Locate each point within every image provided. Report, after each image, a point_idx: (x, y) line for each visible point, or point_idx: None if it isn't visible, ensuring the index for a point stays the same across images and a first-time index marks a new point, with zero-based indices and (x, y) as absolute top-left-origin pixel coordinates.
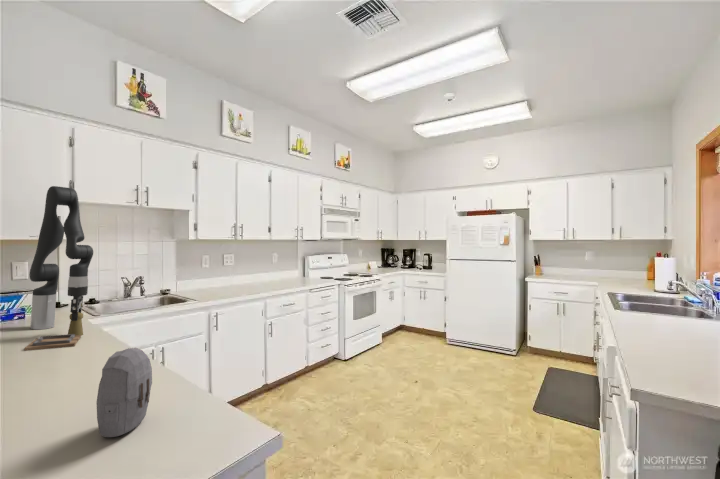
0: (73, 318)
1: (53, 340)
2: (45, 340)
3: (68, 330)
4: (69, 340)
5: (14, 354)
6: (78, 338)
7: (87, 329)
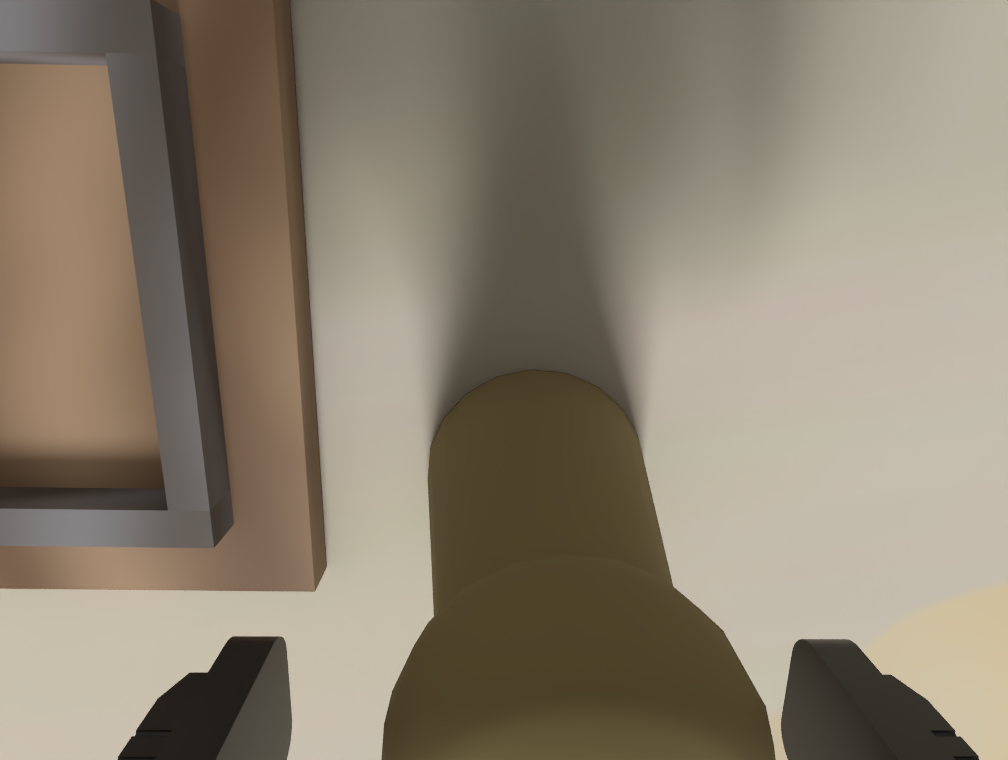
0: (155, 732)
1: (3, 262)
2: (31, 129)
3: (527, 415)
4: None
5: None
6: (76, 587)
7: (931, 577)
